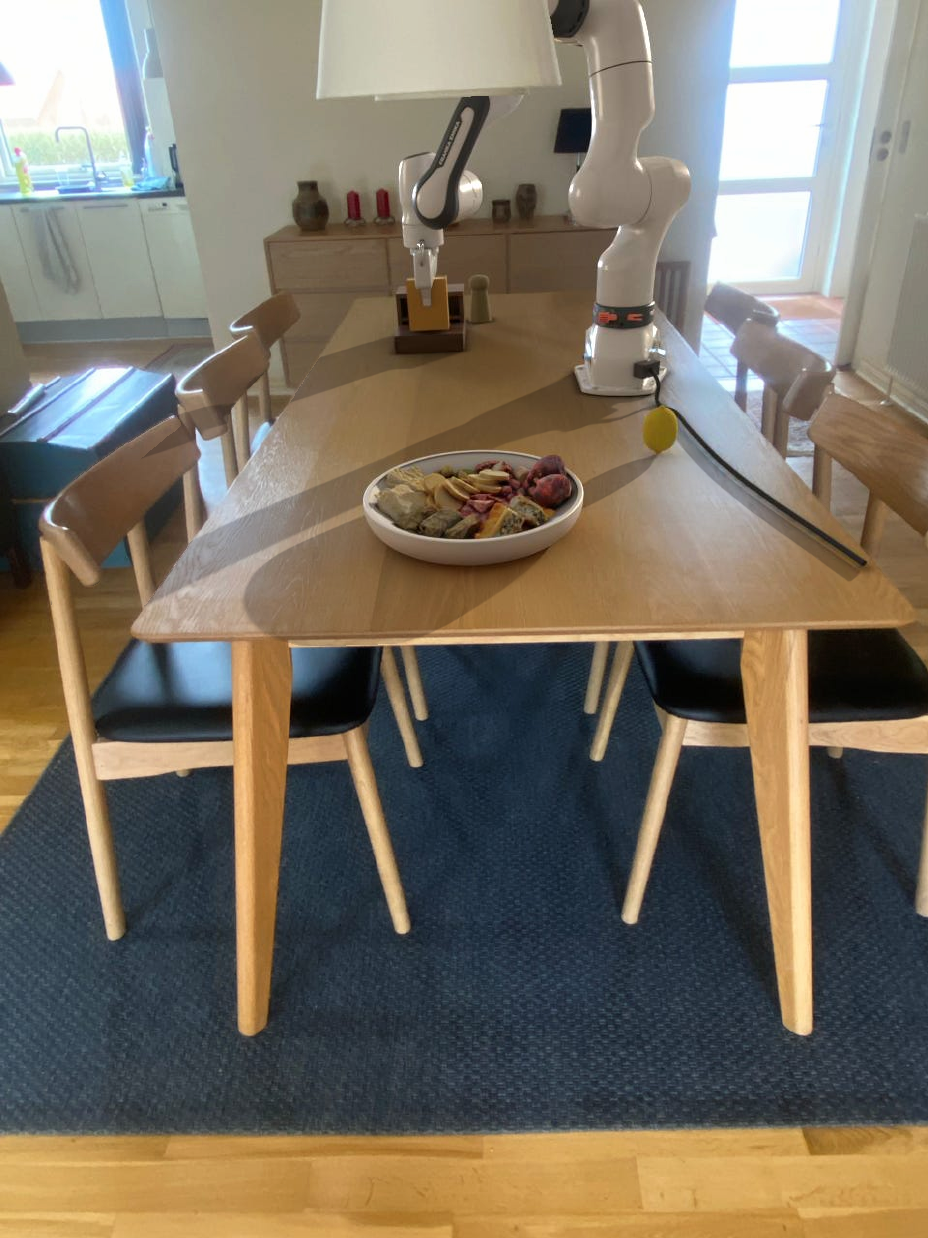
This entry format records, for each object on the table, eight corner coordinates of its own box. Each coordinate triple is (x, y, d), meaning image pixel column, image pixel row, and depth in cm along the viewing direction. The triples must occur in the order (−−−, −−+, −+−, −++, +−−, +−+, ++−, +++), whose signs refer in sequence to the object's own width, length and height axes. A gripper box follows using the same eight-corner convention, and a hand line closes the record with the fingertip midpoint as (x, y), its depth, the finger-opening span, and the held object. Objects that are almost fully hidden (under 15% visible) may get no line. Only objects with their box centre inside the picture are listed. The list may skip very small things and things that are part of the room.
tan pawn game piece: (477, 316, 218) (475, 272, 212) (496, 318, 215) (495, 273, 209) (464, 321, 214) (462, 276, 208) (483, 323, 211) (481, 278, 205)
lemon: (634, 451, 134) (637, 403, 130) (662, 445, 136) (666, 397, 132) (653, 462, 130) (657, 413, 126) (682, 456, 132) (687, 407, 127)
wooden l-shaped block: (463, 351, 190) (461, 301, 184) (395, 353, 191) (390, 304, 185) (466, 329, 207) (464, 283, 201) (402, 332, 208) (399, 286, 202)
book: (448, 329, 189) (445, 278, 183) (409, 331, 190) (405, 280, 184) (449, 324, 193) (446, 275, 187) (411, 326, 193) (407, 277, 187)
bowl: (411, 599, 99) (406, 541, 94) (340, 505, 122) (333, 455, 118) (624, 543, 108) (628, 488, 104) (521, 466, 131) (520, 418, 127)
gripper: (435, 243, 172) (439, 312, 179) (439, 229, 189) (443, 292, 197) (405, 244, 172) (410, 313, 180) (412, 231, 189) (417, 294, 197)
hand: (428, 302), depth 188 cm, fingers closed on book, 4 cm apart
